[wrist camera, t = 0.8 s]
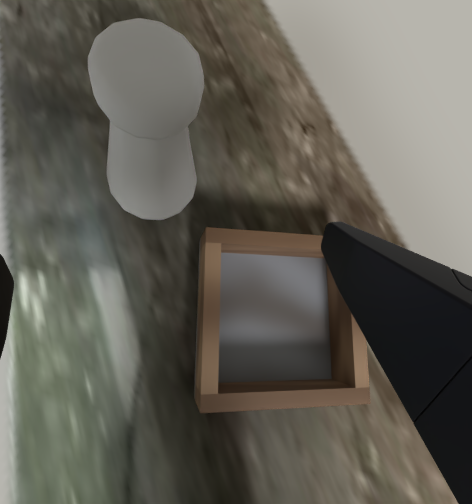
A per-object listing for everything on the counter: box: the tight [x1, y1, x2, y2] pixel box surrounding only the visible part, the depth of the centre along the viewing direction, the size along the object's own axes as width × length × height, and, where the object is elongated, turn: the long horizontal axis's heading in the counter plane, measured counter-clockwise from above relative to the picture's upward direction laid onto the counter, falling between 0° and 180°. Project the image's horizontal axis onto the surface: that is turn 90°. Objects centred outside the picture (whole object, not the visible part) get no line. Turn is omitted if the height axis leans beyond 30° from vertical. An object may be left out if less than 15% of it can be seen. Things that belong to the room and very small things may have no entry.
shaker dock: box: [194, 227, 370, 413], centre depth 22 cm, size 11×11×4 cm
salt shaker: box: [88, 18, 204, 220], centre depth 17 cm, size 6×6×13 cm
